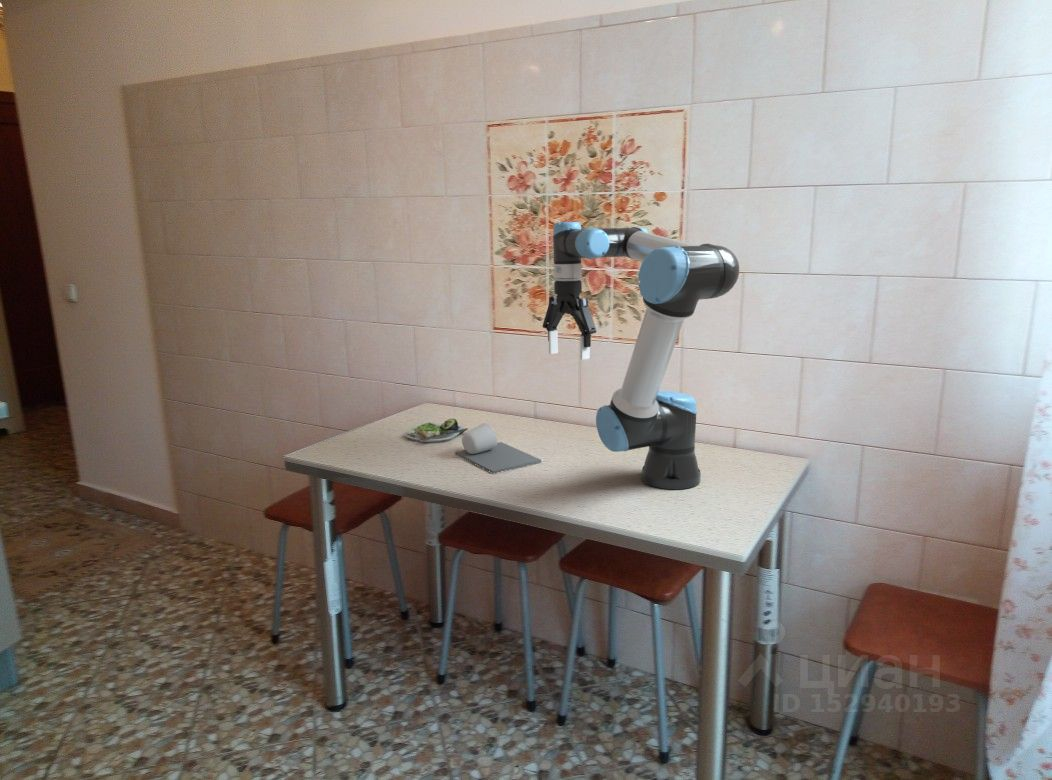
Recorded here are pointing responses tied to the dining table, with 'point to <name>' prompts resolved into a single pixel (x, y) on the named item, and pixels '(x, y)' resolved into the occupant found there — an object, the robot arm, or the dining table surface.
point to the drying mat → (500, 458)
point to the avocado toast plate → (436, 431)
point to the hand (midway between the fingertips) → (568, 356)
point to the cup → (479, 439)
